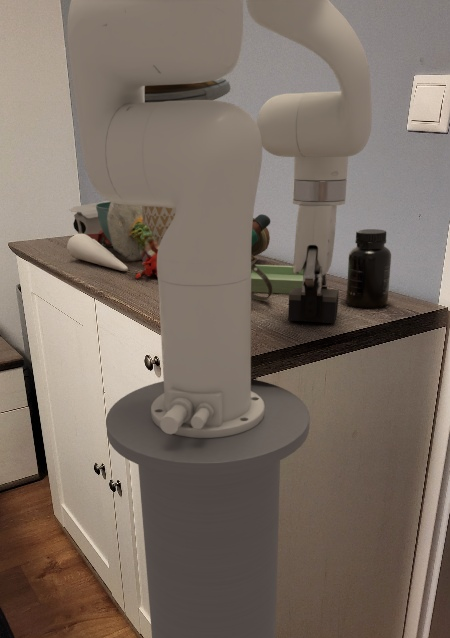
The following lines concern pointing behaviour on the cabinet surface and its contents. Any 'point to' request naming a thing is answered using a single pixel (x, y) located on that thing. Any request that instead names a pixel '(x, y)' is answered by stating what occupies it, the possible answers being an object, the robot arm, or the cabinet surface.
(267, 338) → the cabinet surface
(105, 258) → the long cone
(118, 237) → the fossil
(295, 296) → the back pad
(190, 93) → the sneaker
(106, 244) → the dental model
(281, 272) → the rectangular tray
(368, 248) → the supplement bottle
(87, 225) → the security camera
